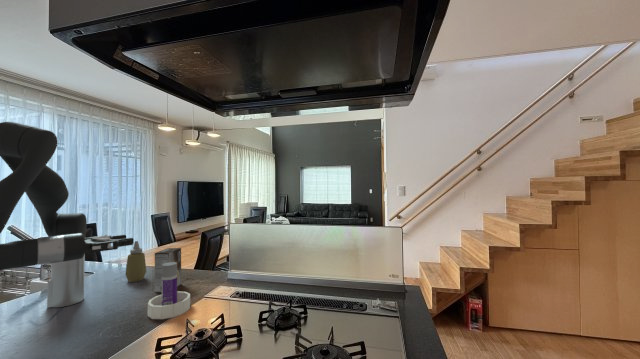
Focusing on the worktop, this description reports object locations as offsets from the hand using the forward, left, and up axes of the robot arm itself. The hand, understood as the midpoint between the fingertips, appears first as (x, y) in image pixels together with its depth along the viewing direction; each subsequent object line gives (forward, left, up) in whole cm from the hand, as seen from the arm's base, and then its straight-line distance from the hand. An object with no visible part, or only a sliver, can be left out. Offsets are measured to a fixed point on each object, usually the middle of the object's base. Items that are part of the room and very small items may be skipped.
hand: (129, 239), depth 87 cm
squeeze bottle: (-6, +43, -26) cm, 50 cm away
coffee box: (+9, +25, -26) cm, 37 cm away
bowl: (+12, +1, -26) cm, 28 cm away
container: (+12, +1, -25) cm, 27 cm away
